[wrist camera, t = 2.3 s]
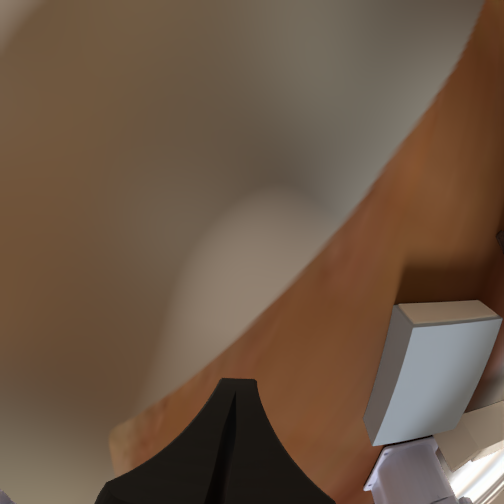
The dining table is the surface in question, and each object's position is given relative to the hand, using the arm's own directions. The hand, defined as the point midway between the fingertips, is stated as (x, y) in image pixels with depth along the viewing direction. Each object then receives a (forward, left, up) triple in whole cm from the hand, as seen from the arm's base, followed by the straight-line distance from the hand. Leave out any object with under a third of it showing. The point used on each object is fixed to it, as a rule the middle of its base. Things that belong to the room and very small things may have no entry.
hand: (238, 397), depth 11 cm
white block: (-7, -15, -11) cm, 20 cm away
